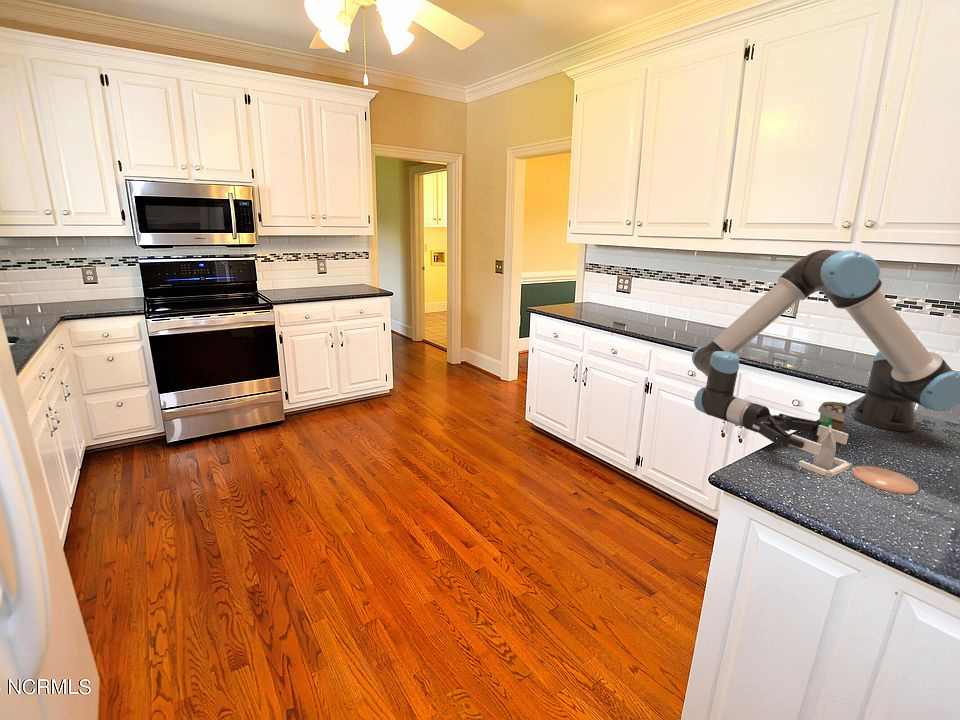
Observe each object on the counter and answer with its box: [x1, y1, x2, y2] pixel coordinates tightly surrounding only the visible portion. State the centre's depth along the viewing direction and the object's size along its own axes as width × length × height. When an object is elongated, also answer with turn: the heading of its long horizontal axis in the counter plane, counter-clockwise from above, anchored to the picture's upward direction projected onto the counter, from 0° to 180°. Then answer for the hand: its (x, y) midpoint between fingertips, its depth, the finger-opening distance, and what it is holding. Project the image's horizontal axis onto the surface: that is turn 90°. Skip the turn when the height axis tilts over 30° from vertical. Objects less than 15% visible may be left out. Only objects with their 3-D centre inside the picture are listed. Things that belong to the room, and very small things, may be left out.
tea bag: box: [812, 424, 837, 470], centre depth 119 cm, size 4×7×10 cm, turn 144°
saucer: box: [852, 465, 919, 495], centre depth 114 cm, size 12×12×1 cm
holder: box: [797, 457, 853, 479], centre depth 120 cm, size 11×7×1 cm, turn 121°
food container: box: [816, 401, 848, 448], centre depth 136 cm, size 12×6×10 cm, turn 141°
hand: (833, 444), depth 117 cm, fingers open, 13 cm apart
